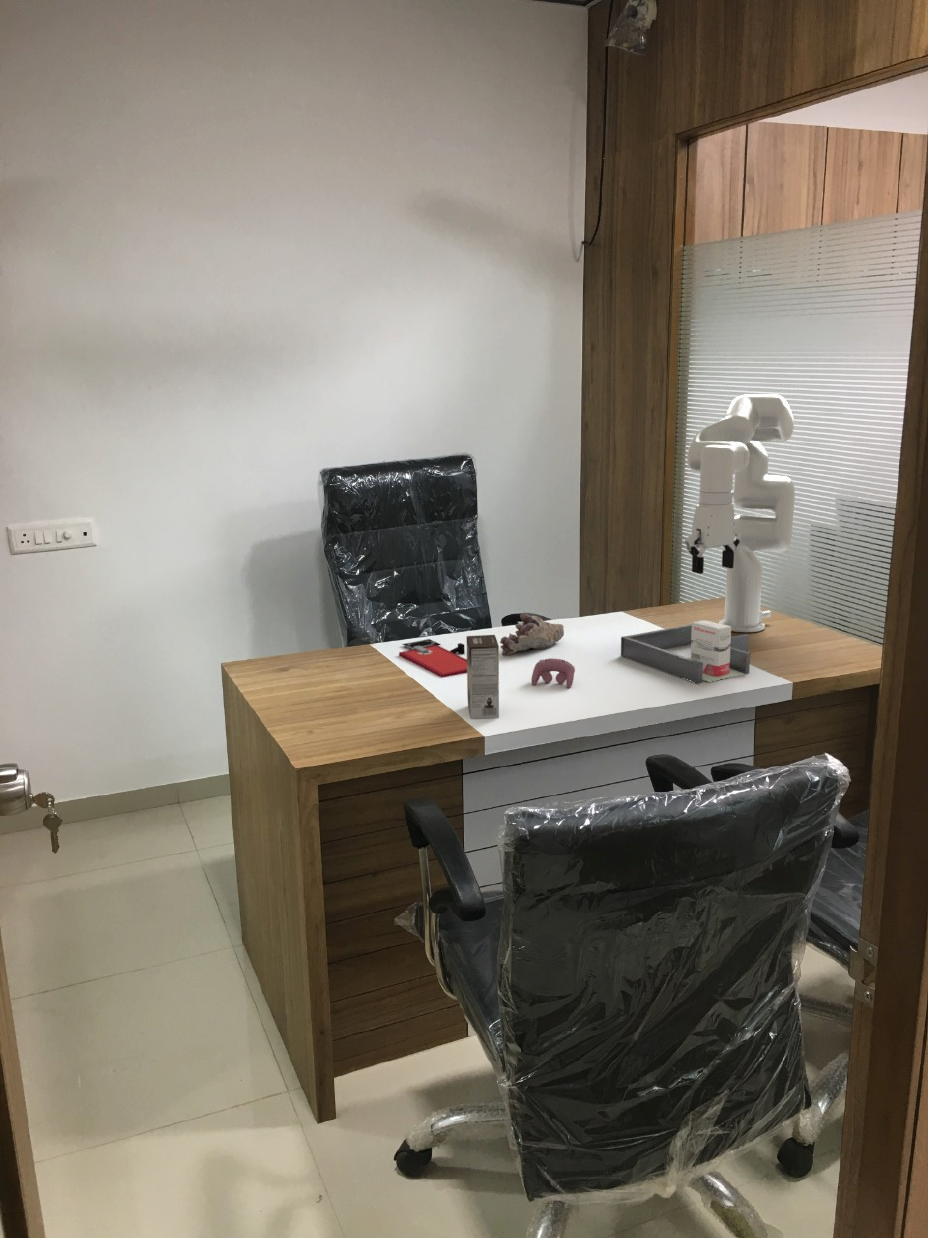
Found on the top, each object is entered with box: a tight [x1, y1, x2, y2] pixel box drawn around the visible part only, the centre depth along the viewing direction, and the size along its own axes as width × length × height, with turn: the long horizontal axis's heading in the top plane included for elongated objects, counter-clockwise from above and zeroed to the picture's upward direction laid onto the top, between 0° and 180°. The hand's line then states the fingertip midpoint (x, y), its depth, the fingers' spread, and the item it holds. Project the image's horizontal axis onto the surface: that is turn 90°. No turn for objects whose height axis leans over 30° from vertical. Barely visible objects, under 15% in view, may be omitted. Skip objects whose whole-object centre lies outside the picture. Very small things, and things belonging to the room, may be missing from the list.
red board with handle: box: [398, 638, 467, 678], centre depth 258 cm, size 30×3×15 cm
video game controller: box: [531, 657, 576, 689], centre depth 236 cm, size 10×5×7 cm, turn 72°
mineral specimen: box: [499, 613, 565, 657], centre depth 265 cm, size 20×10×10 cm
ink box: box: [689, 620, 732, 677], centre depth 241 cm, size 8×5×12 cm, turn 37°
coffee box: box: [466, 634, 500, 720], centre depth 216 cm, size 9×6×16 cm
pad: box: [702, 668, 744, 683], centre depth 242 cm, size 11×11×1 cm
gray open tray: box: [620, 623, 751, 684], centre depth 252 cm, size 28×28×5 cm
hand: (712, 570), depth 240 cm, fingers open, 9 cm apart
